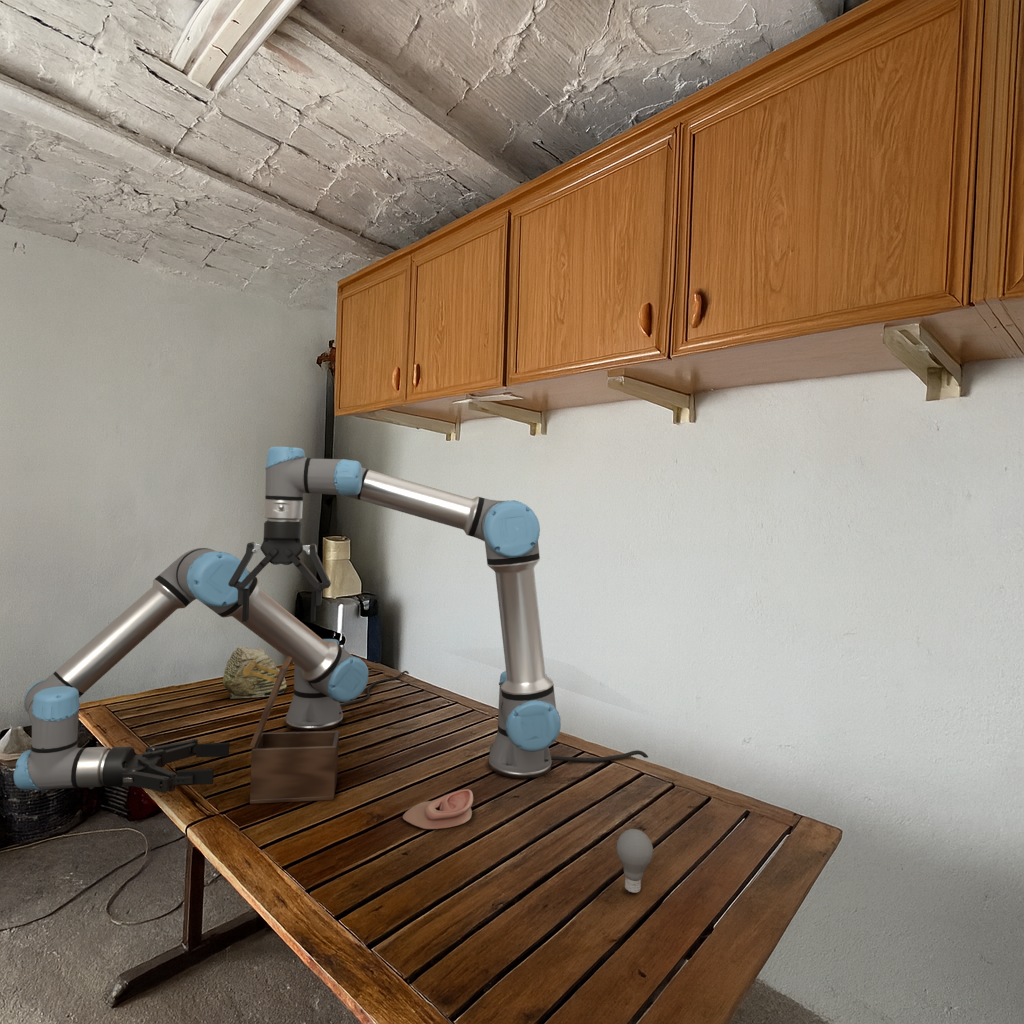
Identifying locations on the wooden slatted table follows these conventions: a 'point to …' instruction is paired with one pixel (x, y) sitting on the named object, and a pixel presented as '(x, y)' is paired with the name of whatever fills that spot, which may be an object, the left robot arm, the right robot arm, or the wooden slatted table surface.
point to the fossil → (249, 684)
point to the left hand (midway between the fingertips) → (221, 762)
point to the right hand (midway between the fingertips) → (279, 620)
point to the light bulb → (634, 857)
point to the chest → (294, 767)
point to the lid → (278, 681)
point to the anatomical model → (442, 811)
